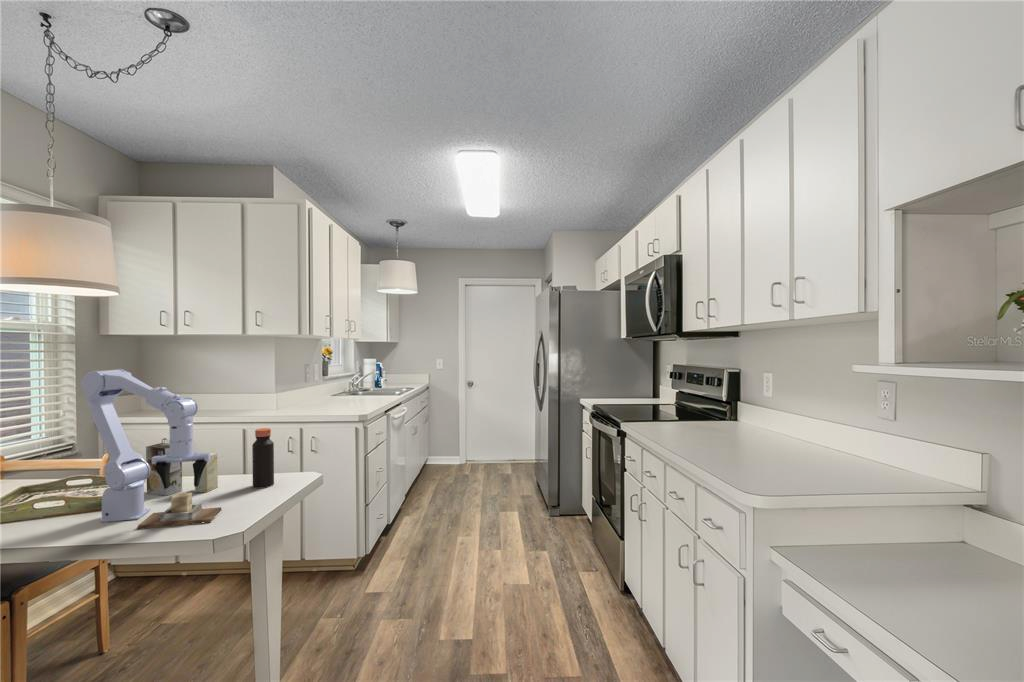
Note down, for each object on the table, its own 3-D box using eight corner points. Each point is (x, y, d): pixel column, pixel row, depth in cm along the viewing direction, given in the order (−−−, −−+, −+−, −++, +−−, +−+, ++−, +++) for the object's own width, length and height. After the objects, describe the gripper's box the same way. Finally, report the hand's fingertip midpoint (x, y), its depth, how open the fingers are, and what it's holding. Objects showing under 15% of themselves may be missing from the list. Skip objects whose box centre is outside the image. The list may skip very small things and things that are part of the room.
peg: (171, 518, 142) (171, 498, 142) (176, 513, 146) (176, 493, 146) (187, 517, 143) (186, 496, 143) (192, 512, 147) (191, 492, 147)
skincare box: (207, 492, 169) (206, 457, 169) (194, 492, 169) (193, 457, 169) (218, 486, 175) (218, 452, 175) (206, 486, 175) (205, 452, 175)
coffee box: (183, 490, 171) (183, 444, 171) (165, 496, 165) (165, 448, 165) (163, 488, 174) (163, 442, 174) (145, 493, 168) (144, 446, 168)
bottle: (253, 484, 178) (252, 428, 178) (274, 481, 181) (273, 427, 181) (252, 489, 172) (251, 432, 172) (273, 486, 175) (273, 430, 175)
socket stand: (137, 529, 137) (137, 518, 137) (153, 516, 147) (153, 506, 147) (211, 522, 142) (210, 512, 142) (221, 510, 152) (221, 500, 152)
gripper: (146, 444, 139) (147, 492, 139) (204, 441, 143) (205, 488, 143) (157, 439, 146) (157, 485, 146) (212, 436, 150) (213, 481, 150)
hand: (181, 486), depth 145 cm, fingers open, 7 cm apart
